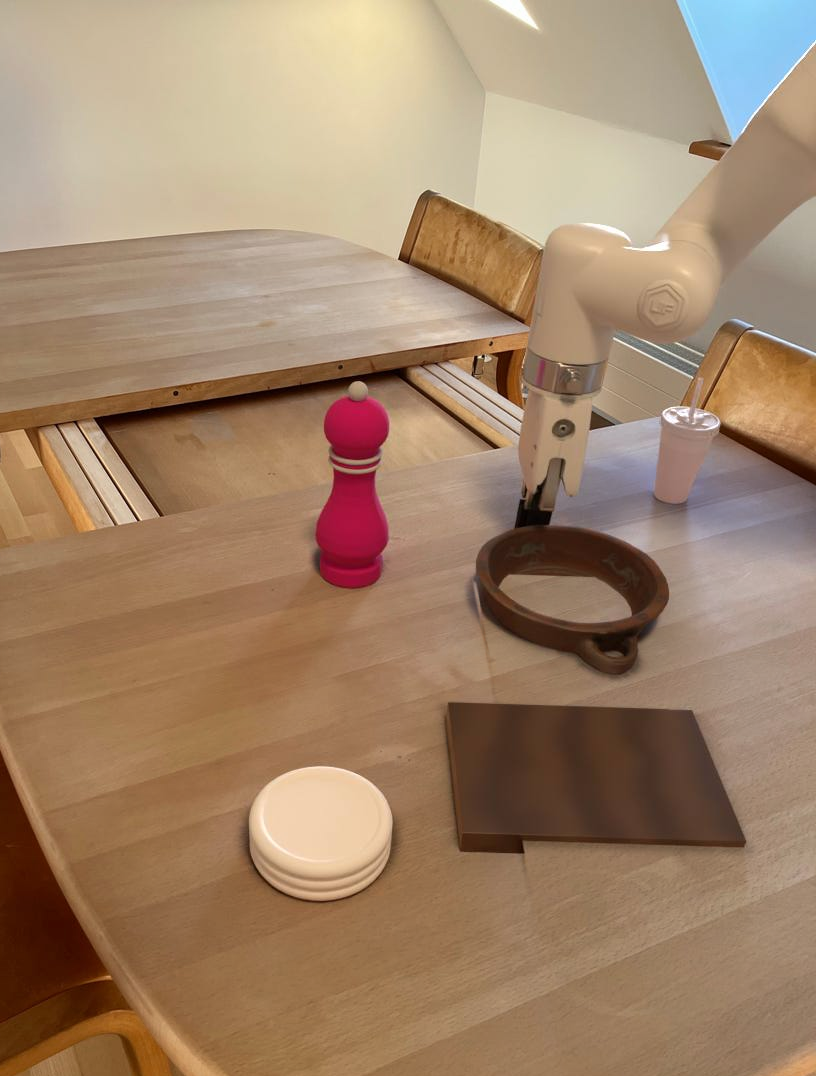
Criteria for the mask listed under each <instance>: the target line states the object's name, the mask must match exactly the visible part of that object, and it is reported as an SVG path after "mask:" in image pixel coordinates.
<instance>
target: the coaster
mask: <svg viewBox="0 0 816 1076" xmlns="http://www.w3.org/2000/svg"><path fill="white" fill-rule="evenodd" d="M393 825H394V821H393V814H392V811H391V807H390V805H389V802H388V800H387V798H386V797H385V796H384V794H383V792H381V790H380V789H379V788H378V787H377V786H375V784H373V783H372V782H371V781H370V780H368V779H367V778H365V777H363V776H361V775H360V774H357V773H355V772H353V771H351V770H347V769H344V768H340V767H333V766H323V765H322V766H320V765H318V766H307V767H301V768H298V769H293V770H291V771H288V772H285V773H283V774H281V775H279V776H277V777H275V778H274V779H273V780H271V781H270V782H269V783H267V784H266V785H265V786H263V788H262V789H261V790H260V791H259V793H258V794H257V795H256V797H255V799H254V800H253V803H252V805H251V807H250V811H249V815H248V831H249V832H248V836H249V837H248V838H249V852H250V856H251V859H252V861H253V864H254V866H255V868H256V869H257V871H258V872H259V873H260V875H261V876H262V877H263V878H264V880H265V881H267V882H268V884H269V885H271V886H273V887H274V888H275V889H277V890H278V891H280V892H281V893H284V894H286V895H288V896H292V897H293V898H297V899H302V900H307V901H318V902H322V901H323V902H324V901H325V902H326V901H335V900H340V899H344V898H346V897H350V896H352V895H355V894H357V893H359V892H360V891H362V890H364V889H366V888H367V887H369V886H370V885H371V884H372V883H374V881H375V880H376V879H377V878H378V877H379V876H380V874H382V872H383V870H384V869H385V867H386V865H387V863H388V860H389V857H390V854H391V847H392V837H393V833H392V832H393Z"/></svg>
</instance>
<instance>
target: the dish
mask: <svg viewBox="0 0 816 1076" xmlns="http://www.w3.org/2000/svg"><path fill="white" fill-rule="evenodd" d="M475 570H476V574H477V576H478V579H479V581H480V583H481V585H482V589H483V591H484V597H485V600H486V604H487V606H488V609H489V610H490V612H491V613H492V615H493V616H494V618H495V619H496V620H497V621H498V622H499V623H500V624H501V625H503V627H505V628H506V629H508V630H509V631H511V632H513V633H514V634H516V635H517V636H519V637H521V638H523V639H525V640H527V641H529V642H531V643H533V644H536V645H540V646H543V647H546V648H550V649H554V650H558V651H563V652H567V653H573V654H576V655H577V656H579V657H580V658H581V659H582V660H583V661H584V662H585V663H586V664H588V665H589V666H590V667H592V668H594V669H595V670H597V671H599V672H601V673H603V674H607V675H611V676H619V675H622V674H625V673H627V672H628V671H629V670H631V669H632V667H633V666H634V664H635V662H636V660H637V658H638V654H639V647H638V636H639V635H640V634H641V632H642V631H643V630H644V628H645V627H646V626H647V625H648V624H649V623H650V622H652V621H654V620H656V619H657V618H658V617H659V616H660V615H661V614H662V613H663V612H664V611H665V608H666V607H667V606H668V603H669V599H670V588H669V583H668V580H667V578H666V576H665V574H664V573H663V571H662V569H661V568H660V566H659V565H658V564H657V562H656V561H655V559H653V558H652V557H651V556H649V554H647V553H646V552H644V551H643V550H641V549H639V548H638V547H636V546H634V545H632V544H631V543H629V542H628V541H626V540H623V539H621V538H618V537H616V536H614V535H611V534H608V533H605V532H603V531H602V532H601V531H598V530H594V529H590V528H586V527H581V526H575V525H564V524H563V525H561V524H550V525H534V526H526V527H520V528H515V529H514V528H512V529H508V530H506V531H504V532H501V533H499V534H497V535H495V536H493V537H492V538H490V539H489V540H487V541H486V542H485V543H484V544H483V545H482V546H481V548H480V550H479V551H478V553H477V557H476V559H475ZM509 575H512V576H513V575H514V576H541V577H542V576H543V577H544V576H545V577H574V578H575V577H576V578H577V577H579V578H580V577H581V578H595V579H597V580H600V581H601V582H603V583H605V584H607V585H608V586H609V587H610V588H612V589H613V590H614V591H616V592H617V593H618V595H620V596H621V597H623V599H624V600H625V601H626V603H627V604H628V606H629V608H630V610H631V616H629V617H628V616H627V617H625V618H621V619H617V620H612V621H603V622H577V621H570V620H566V619H560V618H556V617H551V616H547V615H545V614H542V613H539V612H536V611H533V610H531V609H530V608H527V607H526V606H524V605H521V604H520V603H518V602H517V601H515V600H514V599H512V598H510V596H508V595H507V594H505V592H504V591H503V590H502V589H501V588H499V587H500V586H501V584H502V582H503V581H504V580H505V578H507V577H508V576H509ZM613 650H614V651H618V652H620V653H622V654H623V655H624V656H623V657H622V656H621V657H617V656H612V655H611V656H610V655H608V654H605V653H604V652H606V651H613Z"/></svg>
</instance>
